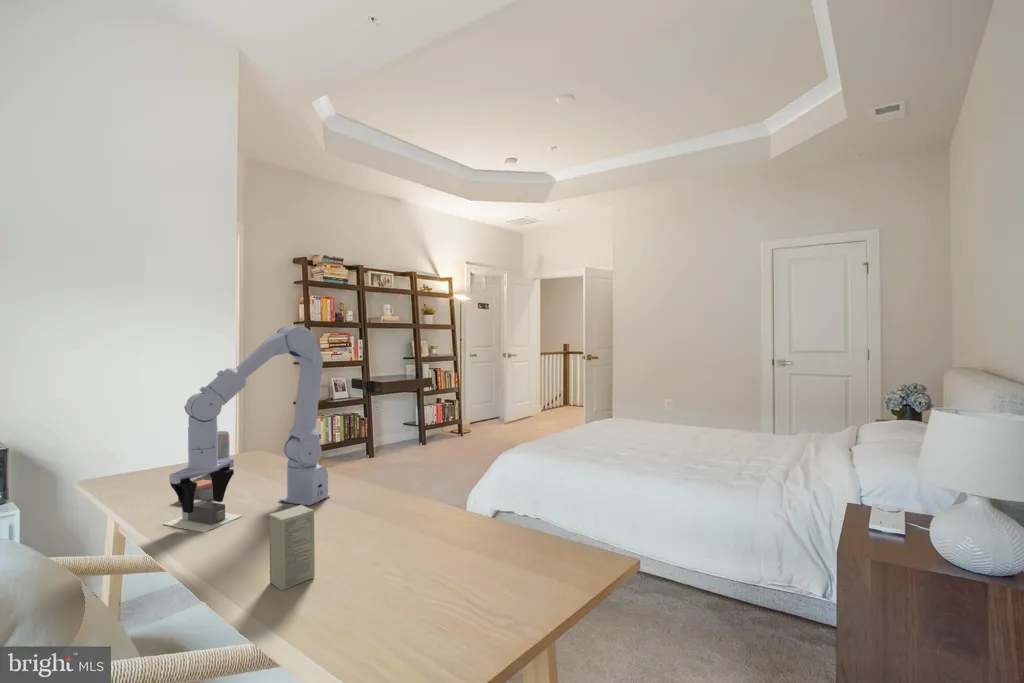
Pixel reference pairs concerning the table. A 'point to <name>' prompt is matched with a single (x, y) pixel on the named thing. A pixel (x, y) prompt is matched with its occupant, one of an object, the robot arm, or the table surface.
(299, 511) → the skincare box
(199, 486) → the button
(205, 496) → the button housing
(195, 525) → the paper sheet
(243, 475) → the table surface
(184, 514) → the block
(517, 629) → the table surface
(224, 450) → the energy drink
